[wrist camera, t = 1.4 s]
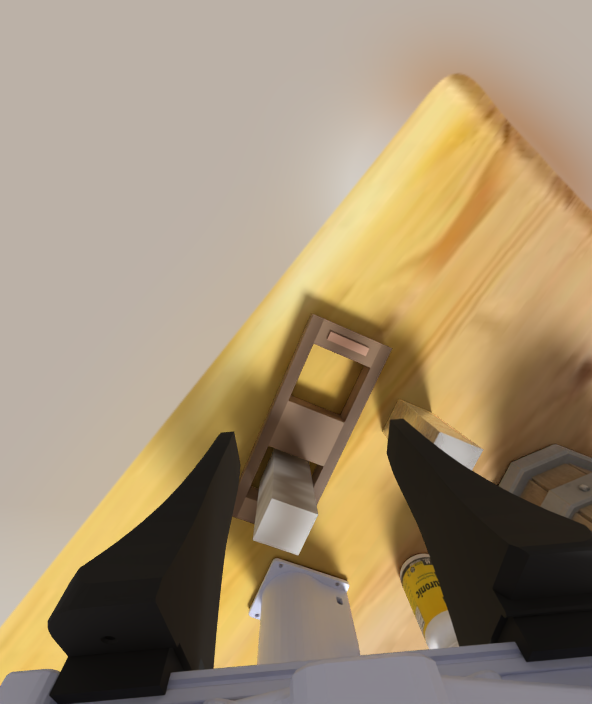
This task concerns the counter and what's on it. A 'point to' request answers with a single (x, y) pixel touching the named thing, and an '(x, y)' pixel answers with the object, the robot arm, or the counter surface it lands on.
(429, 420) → the block
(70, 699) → the robot arm
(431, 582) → the supplement bottle
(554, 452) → the tankard
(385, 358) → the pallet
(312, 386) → the counter surface
